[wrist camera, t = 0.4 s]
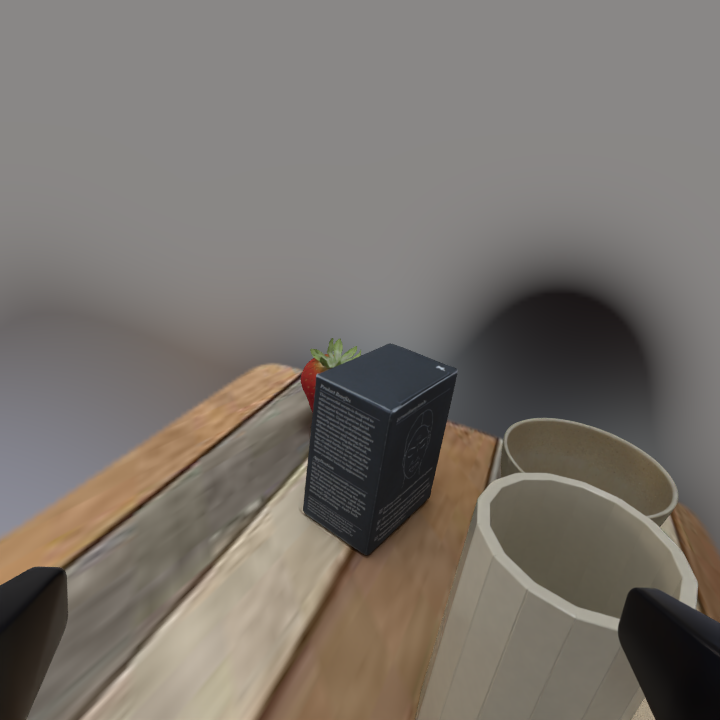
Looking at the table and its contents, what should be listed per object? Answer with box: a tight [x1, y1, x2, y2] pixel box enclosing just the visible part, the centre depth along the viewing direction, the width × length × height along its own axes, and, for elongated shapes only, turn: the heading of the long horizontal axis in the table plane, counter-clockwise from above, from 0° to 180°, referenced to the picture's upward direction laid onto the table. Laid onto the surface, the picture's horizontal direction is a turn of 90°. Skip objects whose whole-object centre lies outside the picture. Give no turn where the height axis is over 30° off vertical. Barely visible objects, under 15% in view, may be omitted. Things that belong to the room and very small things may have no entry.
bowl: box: [501, 418, 678, 527], centre depth 31 cm, size 10×10×7 cm
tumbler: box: [415, 473, 698, 720], centre depth 19 cm, size 7×7×12 cm
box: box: [303, 344, 458, 555], centre depth 32 cm, size 8×6×11 cm
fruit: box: [301, 338, 361, 412], centre depth 41 cm, size 5×5×8 cm
